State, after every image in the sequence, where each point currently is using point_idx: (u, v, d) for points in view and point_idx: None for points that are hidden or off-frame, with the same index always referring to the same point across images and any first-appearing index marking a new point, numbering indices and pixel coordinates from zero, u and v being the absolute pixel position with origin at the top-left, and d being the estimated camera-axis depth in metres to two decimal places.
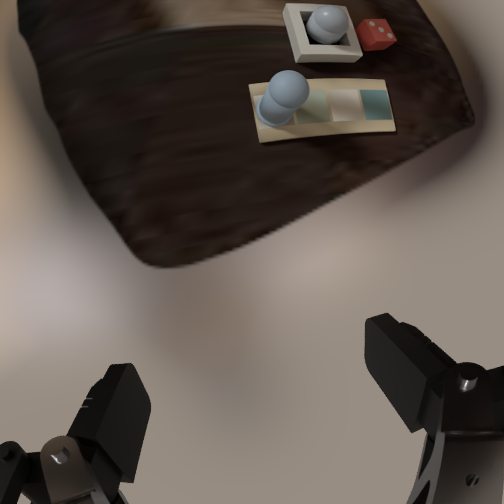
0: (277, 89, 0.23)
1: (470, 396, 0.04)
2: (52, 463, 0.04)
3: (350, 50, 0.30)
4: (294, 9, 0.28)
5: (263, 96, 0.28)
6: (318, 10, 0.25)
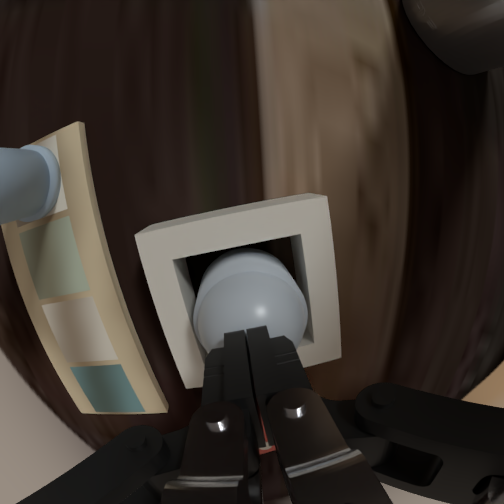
0: None
1: (304, 423, 0.05)
2: (203, 430, 0.05)
3: (189, 363, 0.14)
4: (305, 219, 0.13)
5: None
6: (268, 288, 0.11)
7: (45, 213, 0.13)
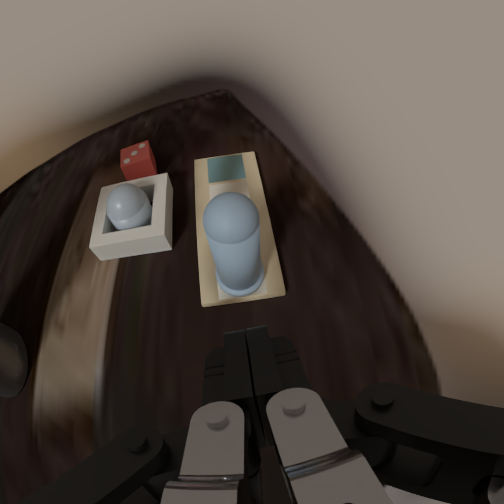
0: (236, 224, 0.18)
1: (304, 424, 0.05)
2: (203, 430, 0.05)
3: (160, 184, 0.32)
4: (99, 239, 0.28)
5: (229, 271, 0.23)
6: (113, 212, 0.28)
7: None
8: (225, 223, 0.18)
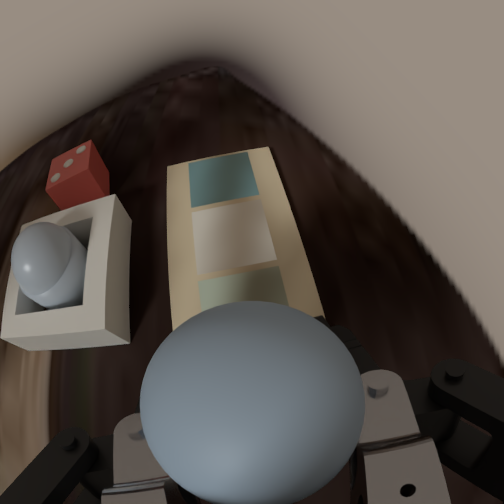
0: (291, 495, 0.03)
1: (384, 404, 0.05)
2: (126, 441, 0.05)
3: (102, 216, 0.16)
4: (11, 324, 0.13)
5: None
6: (19, 281, 0.12)
7: None
8: (237, 497, 0.03)
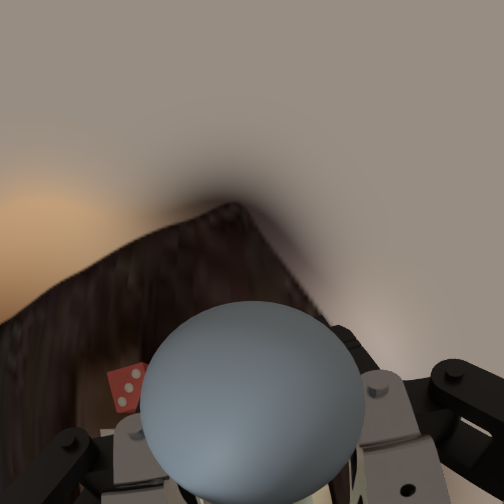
0: (290, 495, 0.03)
1: (384, 404, 0.05)
2: (126, 441, 0.05)
3: None
4: None
5: None
6: None
7: None
8: (237, 497, 0.03)
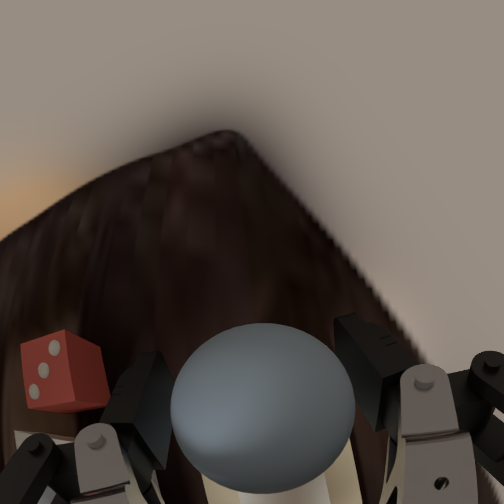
0: (296, 479, 0.04)
1: (429, 398, 0.04)
2: (87, 451, 0.04)
3: None
4: None
5: None
6: None
7: None
8: (254, 481, 0.04)
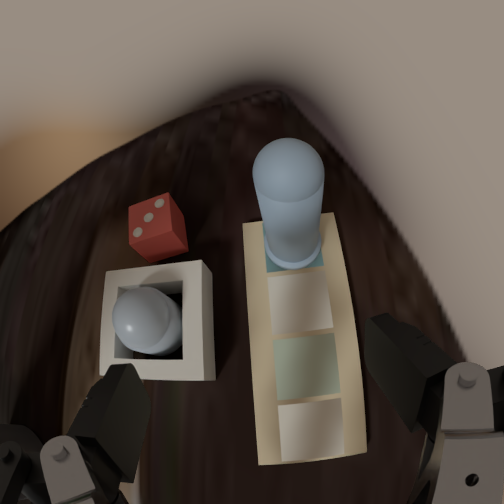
0: (298, 177, 0.14)
1: (470, 396, 0.04)
2: (52, 463, 0.04)
3: (192, 282, 0.21)
4: None
5: (284, 238, 0.19)
6: (123, 340, 0.18)
7: None
8: (283, 174, 0.14)
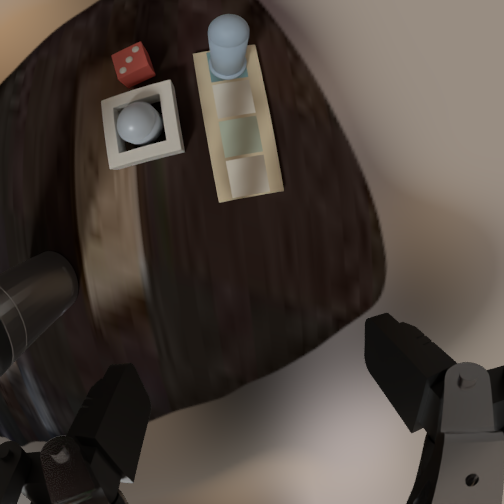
0: (234, 36, 0.21)
1: (470, 396, 0.04)
2: (52, 463, 0.04)
3: (165, 93, 0.28)
4: (117, 159, 0.30)
5: (224, 63, 0.26)
6: (128, 137, 0.28)
7: None
8: (227, 35, 0.20)
